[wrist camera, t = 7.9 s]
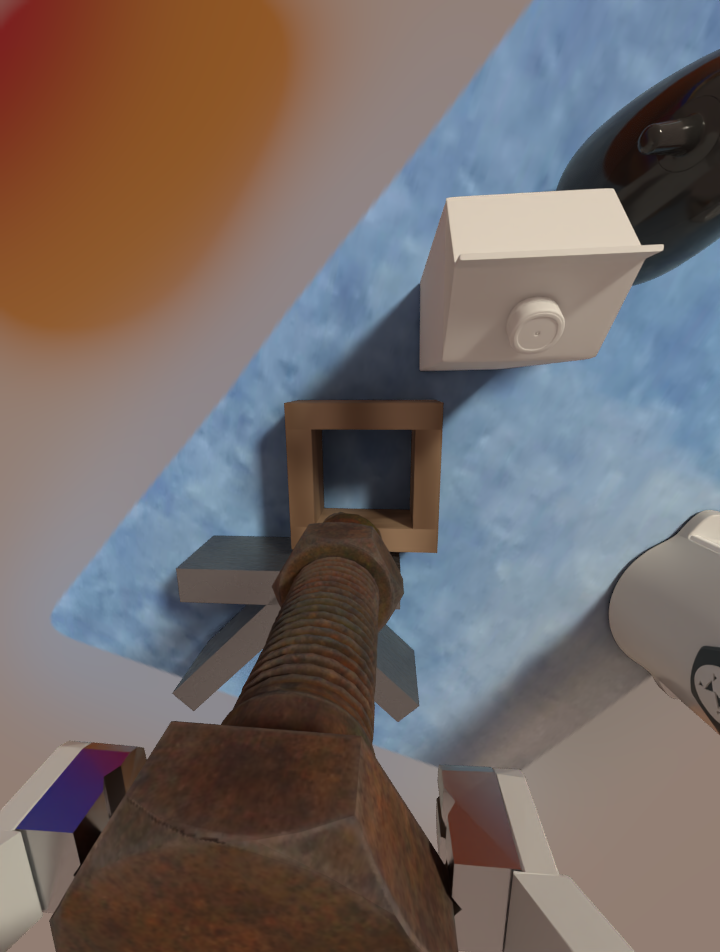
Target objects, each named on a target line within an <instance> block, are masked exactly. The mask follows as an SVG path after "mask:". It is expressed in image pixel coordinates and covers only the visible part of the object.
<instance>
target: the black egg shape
mask: <svg viewBox="0 0 720 952" xmlns="http://www.w3.org/2000/svg"><path fill="white" fill-rule="evenodd" d="M604 188H612V189H614V190H615V192H616V194H617V196H618V198H619V200H620V203H621V205H622V207H623V209H624V211H625V213H626V215H627V217H628V219H629V221H630V223H631V225H632V227H633V229H634V231H635V234H636V236H637V238H638V240H639V242H640V244H641V245H658V244H663V245H664V249H663V251H661V252H659V253H656V254H654V255H652V256H650V257H648V258H646V259H645V260H644V262H643V264H642V266H641V268H640V270H639V272H638V274H637V276H636V278H635V280H634V282H633V284H632V286H633V285H638V284H641V283H644V282H647V281H650V280H652V279H655V278H657V277H659V276H661V275H663V274H665V273H667V272H669V271H671V270H673V269H674V268H676V267H678V266H679V265H681V264H683V263H684V262H686V261H687V260H689V259H690V258H692V257H693V256H695V255H696V254H698V253H699V252H701V251H702V250H704V249H705V248H707V247H708V246H709V245H711V244H712V243H714V242H715V241H716V240H718V239H719V238H720V49H719V50H716V51H714V52H712V53H710V54H708V55H706V56H704V57H702V58H700V59H698V60H696V61H694V62H693V63H691V64H689V65H687V66H686V67H684V68H682V69H680V70H679V71H677V72H675V73H674V74H672V75H670V76H669V77H667V78H665V79H664V80H662V81H660V82H659V83H657V84H656V85H654V86H653V87H651V88H649V89H648V90H646V91H645V92H644V93H642V94H641V95H639V96H638V97H636V98H635V99H634V100H632V101H631V102H630V103H628V104H627V105H626V106H624V107H623V108H622V109H621V110H619V111H618V112H617V113H616V114H615V115H613V116H612V117H611V118H610V119H609V120H607V121H606V122H605V123H604V124H603V125H602V126H600V127H599V128H598V129H597V130H596V131H595V132H594V133H593V134H592V135H591V136H590V137H589V138H588V139H587V140H586V141H585V142H584V143H583V145H582V146H581V147H580V148H579V149H578V151H577V152H576V153H575V155H574V156H573V157H572V159H571V160H570V162H569V163H568V165H567V167H566V168H565V170H564V172H563V174H562V176H561V179H560V181H559V184H558V186H557V190H556V191H567V190H585V189H604Z"/></svg>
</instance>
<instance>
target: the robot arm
mask: <svg viewBox="0 0 720 952" xmlns="http://www.w3.org/2000/svg"><path fill="white" fill-rule="evenodd" d="M609 623H610V628H611V631H612V634H613V637H614V639H615V641H616V642H617V644H618V646H619V647H620V648H621V649H622V651H623V652H624V653H625V654H626V655H627V656H628V657H630V658H631V659H632V660H634V661H635V662H636V663H638V664H639V665H641V666H642V667H643V668H645V669H646V670H647V671H648V672H650V673H651V675H652V676H653V678H654V680H655V681H656V683H657V684H658V686H659V687H660V688H661V689H662V690H663V691H664V692H665V693H666V694H667V695H669V696H670V697H671V698H674V699H680V700H681V701H682V702H683V703H684V704H685V705H687V706H688V707H689V708H690V709H691V710H692V711H693V712H694V713H695V714H696V715H698V716H699V717H700V718H701V719H702V720H703V721H704V722H705V723H707V724H708V725H709V726H710V727H711V728H712V729H713V730H714V731H715V732H717V733H718V734H719V735H720V512H718V511H713V510H705V511H702V512H700V513H698V514H697V515H695V516H694V517H693V518H692V519H691V520H690V521H689V522H688V523H687V524H686V525H685V526H684V527H683V528H682V529H681V530H680V531H679V532H678V534H676V535H675V536H674V537H672V538H670V539H669V540H667V541H665V542H663V543H661V544H659V545H657V546H655V547H653V548H652V549H650V550H648V551H647V552H645V553H644V554H643V555H641V556H640V557H639V558H638V559H636V560H635V561H634V562H633V563H632V564H631V565H630V566H629V567H628V568H627V570H626V571H625V572H624V573H623V575H622V576H621V578H620V579H619V581H618V583H617V584H616V586H615V589H614V591H613V594H612V597H611V600H610V605H609ZM146 761H147V759H146V754H145V750H144V748H142V747H135V746H125V745H115V744H104V743H94V742H80V741H68V742H66V743H64V744H63V745H61V746H59V747H58V748H57V749H56V750H55V751H54V752H53V754H52V755H51V756H50V757H49V758H48V759H47V760H46V761H45V762H44V763H43V764H42V765H41V767H40V768H39V769H38V770H37V771H36V772H35V773H34V774H33V775H32V776H31V777H30V779H29V780H28V781H27V782H26V783H25V784H24V785H23V786H22V787H21V788H20V790H19V791H18V792H17V793H16V794H15V795H14V796H13V797H12V798H11V799H10V800H9V801H8V803H7V804H6V805H5V806H4V807H3V808H2V809H1V810H0V952H6V951H7V950H8V949H9V948H10V947H11V946H12V945H13V944H14V943H16V942H17V941H18V940H19V939H20V938H21V937H22V936H23V935H24V934H25V933H26V932H27V931H28V930H29V929H30V928H31V927H32V926H33V925H34V924H35V923H36V922H38V920H39V919H41V918H42V916H43V913H42V912H46V913H54V912H55V910H56V908H57V907H58V905H59V903H60V901H61V900H62V898H63V896H64V894H65V893H66V891H67V889H68V888H69V886H70V884H71V882H72V881H73V879H74V877H75V876H76V874H77V872H78V871H79V869H80V867H81V865H82V864H83V862H84V860H85V859H86V857H87V855H88V854H89V852H90V850H91V849H92V847H93V845H94V844H95V842H96V841H97V839H98V837H99V836H100V834H101V833H102V831H103V829H104V828H105V826H106V825H107V823H108V821H109V820H110V818H111V817H112V815H113V813H114V812H115V810H116V809H117V807H118V805H119V804H120V802H121V801H122V799H123V797H124V796H125V794H126V793H127V791H128V789H129V788H130V786H131V785H132V783H133V782H134V780H135V778H136V777H137V775H138V774H139V772H140V770H141V769H142V767H143V766H144V764H145V763H146ZM438 788H439V797H438V798H437V806H436V809H437V810H436V819H437V820H436V821H437V843H438V854H439V856H440V858H441V860H442V861H443V863H444V864H445V866H446V867H447V869H448V871H449V879H450V887H451V894H452V901H453V909H454V918H455V926H456V935H457V944H458V951H465V952H635V951H634V950H633V949H632V948H631V947H630V945H629V944H628V943H627V942H626V941H625V939H624V938H623V937H622V936H621V935H620V934H619V933H618V932H617V930H616V929H615V928H614V927H613V926H612V925H611V923H610V922H609V921H608V920H607V919H606V918H605V917H604V916H603V914H602V913H601V912H600V911H599V910H598V909H597V908H596V906H595V905H594V904H593V903H592V902H591V901H590V899H589V898H588V897H587V896H586V895H585V894H584V893H583V891H582V890H581V889H580V888H579V887H578V886H577V885H576V883H575V882H574V881H573V880H572V879H571V878H570V877H569V876H566V875H559V873H558V870H557V867H556V864H555V861H554V858H553V855H552V852H551V850H550V847H549V844H548V841H547V838H546V835H545V832H544V830H543V827H542V824H541V821H540V818H539V816H538V812H537V810H536V807H535V804H534V801H533V798H532V795H531V792H530V790H529V787H528V784H527V781H526V778H525V776H524V774H523V773H522V771H521V770H520V769H505V768H491V767H479V766H458V765H439V768H438Z"/></svg>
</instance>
